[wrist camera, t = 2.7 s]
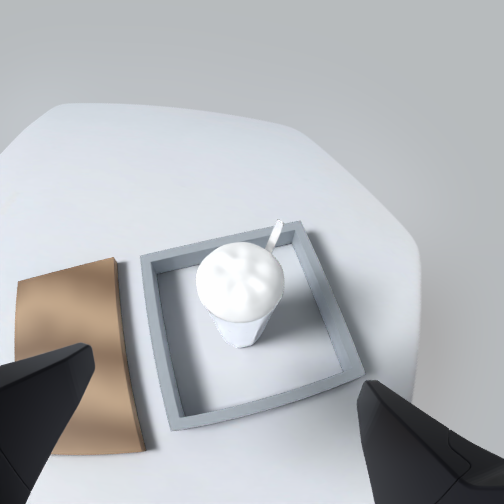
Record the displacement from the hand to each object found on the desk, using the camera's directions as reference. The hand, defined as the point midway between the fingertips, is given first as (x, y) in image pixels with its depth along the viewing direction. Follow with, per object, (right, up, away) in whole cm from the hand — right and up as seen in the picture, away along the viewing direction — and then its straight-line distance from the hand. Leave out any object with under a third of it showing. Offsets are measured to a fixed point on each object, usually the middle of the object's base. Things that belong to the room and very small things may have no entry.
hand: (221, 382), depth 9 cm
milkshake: (0, -2, +14) cm, 14 cm away
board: (-14, -5, +11) cm, 19 cm away
